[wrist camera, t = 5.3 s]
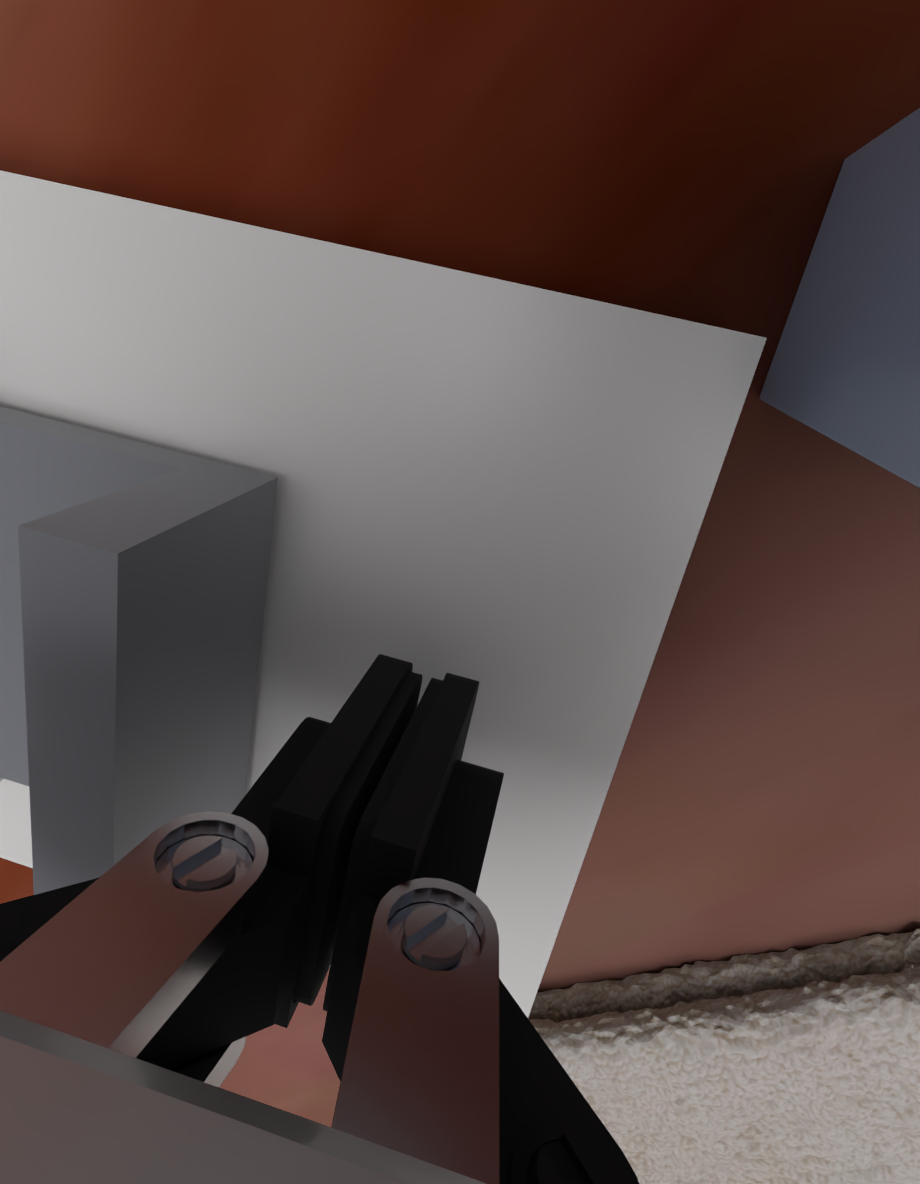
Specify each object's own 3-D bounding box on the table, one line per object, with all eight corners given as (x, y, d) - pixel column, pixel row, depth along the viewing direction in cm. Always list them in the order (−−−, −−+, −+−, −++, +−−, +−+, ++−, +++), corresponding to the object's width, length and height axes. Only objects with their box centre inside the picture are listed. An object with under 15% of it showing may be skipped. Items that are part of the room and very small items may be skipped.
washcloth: (369, 995, 22) (332, 1094, 19) (1033, 873, 16) (1120, 989, 14) (522, 1246, 25) (510, 1365, 22) (1131, 1217, 19) (1220, 1372, 16)
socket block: (724, 332, 13) (779, 339, 9) (540, 891, 19) (518, 1068, 14) (-207, 128, 15) (-536, 52, 11) (-129, 683, 21) (-328, 781, 16)
